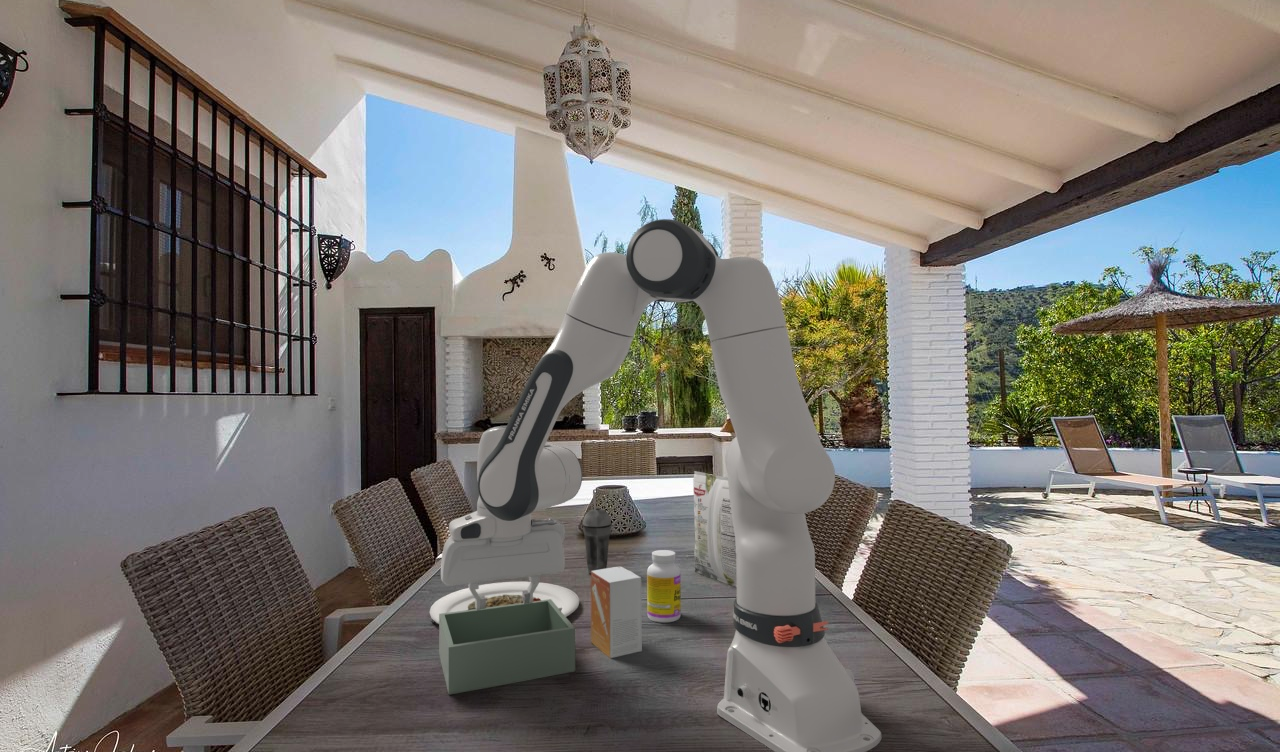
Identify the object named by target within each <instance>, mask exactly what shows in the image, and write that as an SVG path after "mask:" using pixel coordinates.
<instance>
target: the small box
mask: <svg viewBox="0 0 1280 752" xmlns="http://www.w3.org/2000/svg"><path fill="white" fill-rule="evenodd" d="M642 599H643V598H642V577H641V576H640V575H638V574H636V573H634V572H633V571H632V570H629V569H626V568H625V567H623V566H613V567H607V568H606V569H600V570H594V571H591V573H590V643H591V644H592V645H594V646H595V647H596V648H597V649H599V650H600V651H601V652H602V653H603V654H604V655H606V657H608V658H609V659H613V658H617V657H621V656H626V655H630V654H634V653H638V652H639V653H640V652H642V651H643V641H642V639H643V635H642V633H643V631H642V630H643V629H642V628H643V626H642V625H643V624H642V623H643V621H642V620H643V619H642V617H643V615H642V614H643V613H642V612H643V611H642V610H643V609H642V601H643V600H642Z"/></svg>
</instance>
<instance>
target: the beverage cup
mask: <svg viewBox="0 0 1280 752" xmlns="http://www.w3.org/2000/svg"><path fill="white" fill-rule="evenodd" d="M592 496H593V499H592V500H593V508H592V509H590V510H588V512H587V513H586V514H585V515H584V517H583V519H582V525H581V526H582V530H583V535H584V543H585V545H584V546H585V554H586V555H585V556H586V566H587V573H589V574H591V571H594V570H600V569H606V568H608V557H609V556H608V555H609V545H610V543H609V542H610V533H611V529H612V528H611V527H612V522H611V517H610V515H609V513H608V512H607V511H606V510H604V509H603V508H597V500H596V491H595V490H594V491H592Z"/></svg>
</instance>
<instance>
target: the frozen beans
mask: <svg viewBox="0 0 1280 752" xmlns="http://www.w3.org/2000/svg"><path fill="white" fill-rule="evenodd" d="M693 472H694V474H693V479H692V480H693V481H692V483H693V511H694V513H693V514H694V536H695V537H694V538H695V539H694V554H693V555H694V556H693V557H694V558H693V559H694V560H693V561H694V562H693V563H694V572H695V573H696V574H700V575H702V576H705V577H708V578H710V579H713V580H715V581H719V582H721V583H724V584H727V585H730V586H732V587H734V588H737V586H736V543H735V533H734V527H733V520H732V513H731V505H730V495H729V485H728V476H720V475H716V474H711V473H706V472H702V471H696V470H695V471H693Z"/></svg>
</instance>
